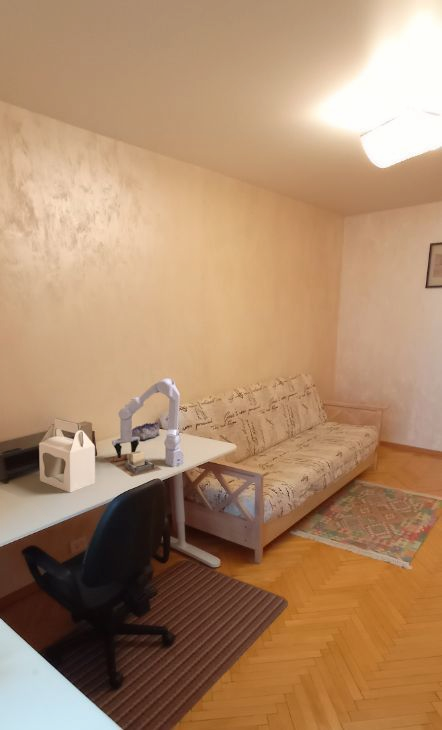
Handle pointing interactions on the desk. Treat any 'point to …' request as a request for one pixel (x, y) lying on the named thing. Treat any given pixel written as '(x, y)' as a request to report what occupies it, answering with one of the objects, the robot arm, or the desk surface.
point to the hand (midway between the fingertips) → (126, 456)
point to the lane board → (131, 468)
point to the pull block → (132, 458)
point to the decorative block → (85, 429)
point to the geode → (146, 431)
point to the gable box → (67, 457)
